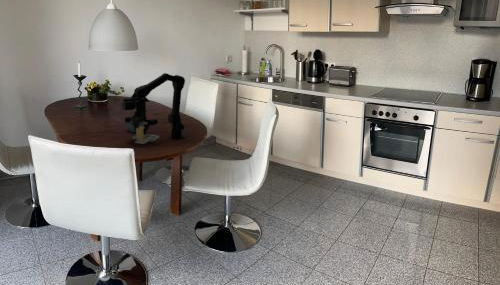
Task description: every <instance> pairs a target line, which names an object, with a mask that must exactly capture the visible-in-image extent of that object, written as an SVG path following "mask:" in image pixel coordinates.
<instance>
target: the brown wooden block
mask: <svg viewBox="0 0 500 285" xmlns="http://www.w3.org/2000/svg"><path fill="white" fill-rule="evenodd" d="M147 134H148V132H147V133H146V135H145V134H144V126H143V127H142V126H139V127H137V128H136V132H135V135H136V139H135V140H137V139H139V140H144V139H146V138H148V137H147Z"/></svg>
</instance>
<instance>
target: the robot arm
mask: <svg viewBox="0 0 500 285" xmlns="http://www.w3.org/2000/svg"><path fill="white" fill-rule="evenodd" d="M168 81H169V82H171V83H172V84H171V85H172V88H173V92H172V93H173V95H172V108H171V111H170V112H171V113H169V114H167V121H168V124H169V125H170V127H171V131H170V132H171V133H170V134H171V135H170V136H171V137H170V138H171V139H175V140H176V139H179V140H181V139H182V138H184V137H185V136H184V129H185V125H184V124H183V123H182V118H181V115H180V108H181V99H182V98H181V97H182V91H183V88H184V87H185V83H186V79H185V77H184V76H181V75H178V74H175V75H173V74H170V73H167V72H164V73H162V74H161V75H160V76H158V77H156V78H155V79H153V80H152V81H150V82H148V83H146V84H143V85H140V86H137V87H135V89H134V90H133V93H132V95H131V96H130V98H126V97H125V98H122V103H121V107H122V110H123V111H131V110H132V111H133V110H135V111H134V114H133V115H128V116H126V117H125V118H124V122H125V123H126V122H127V123H130V122H131V123H130V124H132V125H133V126H134V128H135V130H136V128H137V127H139V124H140V122H143V127H144V134H145V135H146V133H147V134H148V131H149V129H150V126H155V125H157V124H159V123H158V119H157V118H154V117H153V118H149V119H148V116H147V112H148V110H147V106H146V104H147V103H148V102H150V100H149V99H148V98H147V97H148V96H149V95H150V94H151V92H152V91H153V90H154V89H156V88H158V87H159V86H161V85H164V84H165V83H166V82H168Z"/></svg>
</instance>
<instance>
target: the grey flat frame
mask: <svg viewBox="0 0 500 285" xmlns="http://www.w3.org/2000/svg"><path fill="white" fill-rule="evenodd" d="M131 138H132V139H133V140H136V141H137V140H139V139H136V134H135V135H133V136H132V137H131ZM159 138H160V135H157V134H148V133H147V138H146V139H144V140H149V141H148V142H155V141H157V140H158V139H159Z"/></svg>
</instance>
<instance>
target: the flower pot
mask: <svg viewBox="0 0 500 285" xmlns="http://www.w3.org/2000/svg"><path fill="white" fill-rule="evenodd" d="M130 123H131V122H130ZM130 123H127V122H125V125H126V126H125V127H126V128H127V130H128V131H129V132H130V133H136V130H135V128H134V126H133V125H132V124H130ZM139 126H142V127H144V122H140V124H139Z"/></svg>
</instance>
